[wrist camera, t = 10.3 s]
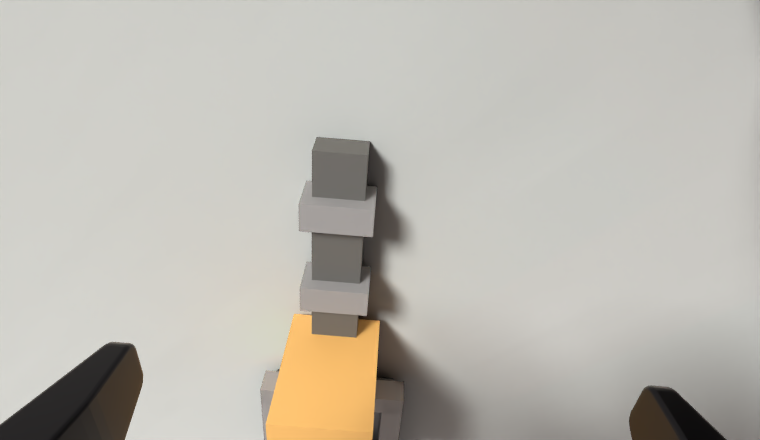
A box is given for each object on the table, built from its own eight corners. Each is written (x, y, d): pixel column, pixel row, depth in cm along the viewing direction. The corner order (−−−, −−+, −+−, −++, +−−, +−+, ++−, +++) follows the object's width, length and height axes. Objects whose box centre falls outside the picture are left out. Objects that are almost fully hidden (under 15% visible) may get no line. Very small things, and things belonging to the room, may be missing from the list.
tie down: (250, 131, 20) (197, 216, 15) (436, 146, 20) (446, 236, 15) (271, 454, 31) (244, 567, 26) (392, 464, 31) (389, 578, 26)
